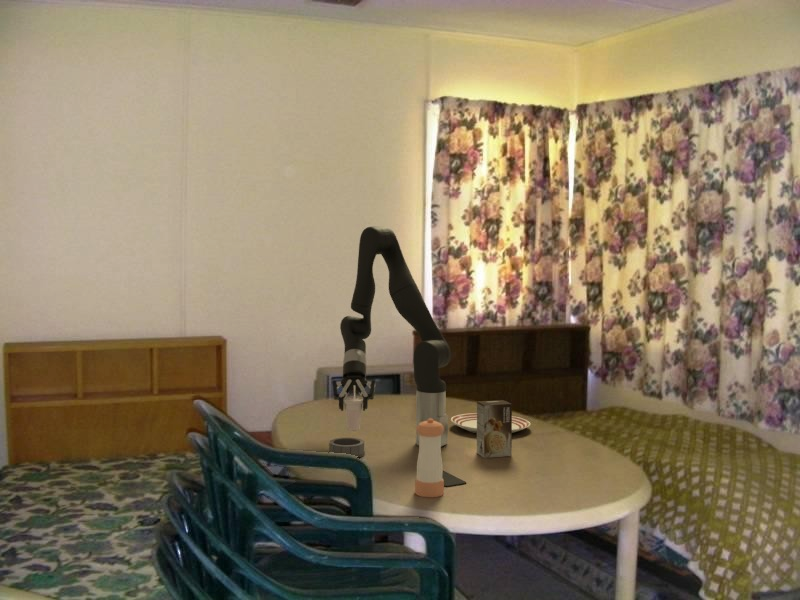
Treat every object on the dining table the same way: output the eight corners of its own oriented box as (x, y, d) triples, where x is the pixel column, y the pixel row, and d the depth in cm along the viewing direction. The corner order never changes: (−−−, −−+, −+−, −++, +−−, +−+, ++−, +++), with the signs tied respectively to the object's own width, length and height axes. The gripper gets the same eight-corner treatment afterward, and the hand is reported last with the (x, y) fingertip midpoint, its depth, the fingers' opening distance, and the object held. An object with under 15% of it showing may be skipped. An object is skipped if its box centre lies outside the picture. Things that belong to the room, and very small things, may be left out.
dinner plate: (494, 417, 289) (495, 408, 289) (547, 432, 266) (547, 423, 266) (434, 426, 274) (434, 416, 274) (484, 443, 251) (484, 432, 251)
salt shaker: (449, 493, 199) (450, 418, 198) (430, 499, 194) (431, 423, 193) (428, 486, 204) (429, 414, 203) (409, 492, 199) (410, 418, 198)
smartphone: (445, 486, 203) (415, 470, 216) (444, 490, 203) (415, 474, 216) (468, 482, 207) (437, 467, 220) (468, 486, 207) (437, 470, 220)
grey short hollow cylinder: (371, 452, 237) (371, 440, 237) (352, 461, 227) (352, 448, 227) (341, 447, 242) (341, 435, 242) (321, 455, 233) (321, 443, 232)
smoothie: (356, 432, 242) (355, 387, 241) (339, 430, 246) (338, 386, 245) (367, 428, 247) (367, 384, 247) (351, 426, 251) (350, 383, 250)
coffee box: (503, 451, 241) (504, 399, 240) (512, 456, 235) (513, 403, 234) (475, 452, 238) (476, 400, 237) (483, 458, 232) (484, 405, 231)
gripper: (331, 359, 253) (329, 402, 241) (376, 359, 253) (375, 402, 242) (333, 373, 258) (330, 416, 247) (376, 372, 258) (376, 415, 247)
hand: (353, 409), depth 244 cm, fingers closed on smoothie, 6 cm apart
